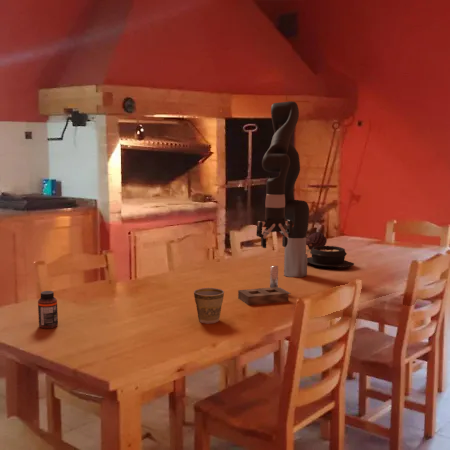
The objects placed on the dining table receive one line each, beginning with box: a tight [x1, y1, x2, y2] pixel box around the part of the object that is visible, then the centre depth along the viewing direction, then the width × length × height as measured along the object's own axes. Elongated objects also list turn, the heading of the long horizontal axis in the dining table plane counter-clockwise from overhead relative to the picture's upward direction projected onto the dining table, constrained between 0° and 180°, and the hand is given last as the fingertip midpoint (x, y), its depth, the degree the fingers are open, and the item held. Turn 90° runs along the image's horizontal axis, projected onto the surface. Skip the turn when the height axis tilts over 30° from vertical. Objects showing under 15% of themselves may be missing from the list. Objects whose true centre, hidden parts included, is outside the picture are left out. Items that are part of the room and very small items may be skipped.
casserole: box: [307, 245, 355, 269], centre depth 298 cm, size 25×19×8 cm
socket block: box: [237, 286, 290, 306], centre depth 237 cm, size 16×10×4 cm, turn 110°
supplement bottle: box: [37, 290, 59, 329], centre depth 204 cm, size 6×6×11 cm
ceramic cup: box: [193, 287, 225, 325], centre depth 212 cm, size 13×10×10 cm
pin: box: [269, 265, 279, 288], centre depth 248 cm, size 3×3×10 cm
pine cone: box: [306, 231, 328, 251], centre depth 335 cm, size 18×10×10 cm, turn 137°
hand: (274, 247), depth 247 cm, fingers open, 8 cm apart
